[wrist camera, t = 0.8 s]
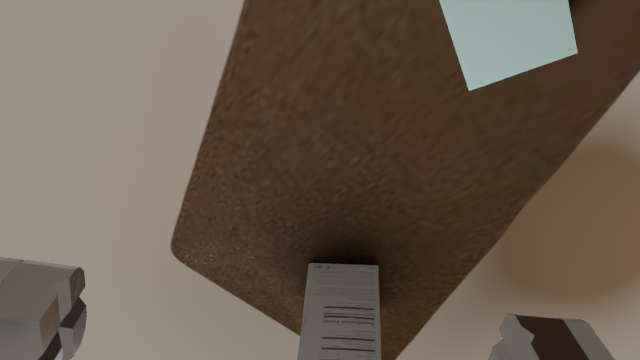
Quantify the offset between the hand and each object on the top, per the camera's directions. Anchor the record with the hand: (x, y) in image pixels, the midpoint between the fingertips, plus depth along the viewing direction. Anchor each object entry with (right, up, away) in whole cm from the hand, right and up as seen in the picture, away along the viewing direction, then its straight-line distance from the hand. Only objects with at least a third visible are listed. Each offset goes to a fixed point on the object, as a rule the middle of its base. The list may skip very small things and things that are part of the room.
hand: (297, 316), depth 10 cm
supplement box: (+4, -11, +60) cm, 62 cm away
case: (+15, +19, +35) cm, 43 cm away
